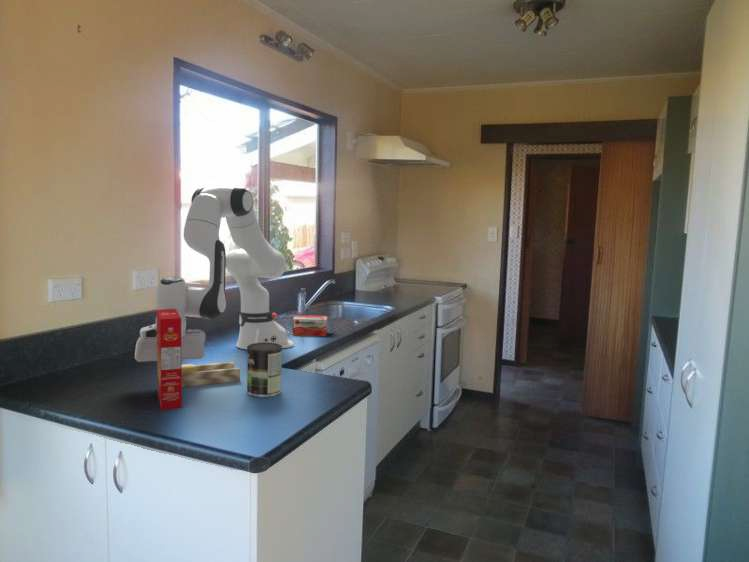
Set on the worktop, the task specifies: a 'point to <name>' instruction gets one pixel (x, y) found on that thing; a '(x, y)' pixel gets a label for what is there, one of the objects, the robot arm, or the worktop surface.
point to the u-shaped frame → (211, 374)
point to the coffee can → (264, 369)
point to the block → (188, 368)
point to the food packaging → (169, 359)
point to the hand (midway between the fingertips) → (169, 374)
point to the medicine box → (310, 325)
